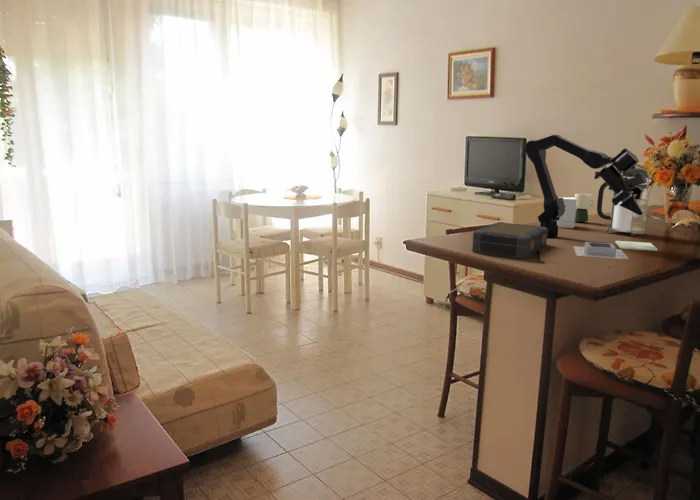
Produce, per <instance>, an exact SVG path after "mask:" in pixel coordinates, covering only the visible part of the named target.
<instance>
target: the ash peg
mask: <svg viewBox="0 0 700 500" xmlns="http://www.w3.org/2000/svg"><path fill="white" fill-rule="evenodd" d="M635 201H636V203H637V204H638V206H639V208H640V209H641V211H642V213H643V214H642V215H638V214H636V213H634V212H633V216H632V224H631V233H635V235H636V234H637V235H638V234H639V235H644V234H645V228H646V222H647V221H646V219H647V212H648V207H649V206H648V205H649V199H646V198H645V199H635Z"/></svg>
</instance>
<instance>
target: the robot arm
mask: <svg viewBox="0 0 700 500" xmlns="http://www.w3.org/2000/svg"><path fill="white" fill-rule="evenodd" d="M553 147H556V148H559V150H560V149H561V150H562V151H564V152H566V153H568V154H570V155H572V156H574V157H576V158H578V159H580V160H581V161H582V163H584V164H586V165H587V166H588V167H589V168H591V169H594V170H597V169H601V170H599V171H595V172H594V180H598V179H600V178H601V179H602V180H603V181H604V183H605V182H606V183H607V185H608V186H607V187H608V190H609V191H612V192H613V194H614V193H615V194H616V195H615V196H614V197H613V196H612V197H611V203H613V204H614V205H615V206H616V205H618V204H619V202H622V204H620V205H619V206H622V207H624V208H626V209H628V210H630V211H632V212H634V213H636V214H638V215H642V214H643V213H642V211H641V209H640V208H639V206H638V204H637V203H636V201H635V199H641V196H642V192H644V190H643V189H642V187H635V186H636V185H639V184H644V183H647V184H648V182H647V180H646V178H647V177H646V176H645V175H644V174H643V175H642V174H641V173H639V174H636V175H635V177H633V178H630V179H628V178H627V177H623V176H622V175H621V174H620V173H619V172H618V171H620V172H622V171H624V172H626V171H628V170H629V169H630V168H632V167H633V166H634V165H635V164H636V165H637V164H638V163H639V162H640V160H639V158H638V156H636V154H634V153H633V152H632V151H630V150H629V149H628V148H623V149H622V150H621V151H620V152H619V153H618V154H617V155H615V156H614V157H613V156H608V154H606V153H604V152H601V151H597V150H593V149H588V148H586V147H583V146H581V145H579V144H577V143H575V142H574V141H570V140H569V139H566V138H565V137H562V136H561V135H559V134H551V135H549V136H546V137H543V138H540V139H537V140H536V139H535V140H529V141H528V142H526V143H525V145H524V151H525V154H526V156H527V158H528V159H529V160H530V162H531V163H532V164H533V167H534V170H535V173H536V176H537V179H538V182H539V186H540V188H541V189H540V190H541V192H542V195H543V212H541V214H539V215H538V216H537V220H538V222H540V223H539V227H546V228H547V229H548V232H547V239H548V238H549V239H551V238H552V239H557V236H558V235H559V227H558V225H557V221H559V219H560V217H561V216H562V215H563V214H564V212H565V207H566V206H565V205H564V201H563V198H558V197H559V196H558V195H557V194H556V193H557V192H556V189H555V188H554V183H553V182H552V178H551V174H550V171H549V167H548V165H547V162H546V157H547V150H548V149H549V150H550V148H553ZM607 165H609V166H607ZM636 165H635V166H636Z"/></svg>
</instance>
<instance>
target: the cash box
mask: <svg viewBox="0 0 700 500" xmlns="http://www.w3.org/2000/svg"><path fill="white" fill-rule="evenodd" d="M547 232H548V229H547V228H546V227H540V225H538V226H536V225H528V224H521V223H520V224H518V223H509V222H501V221H500V222H499V221H498V222H495V223H492V224H490V225H486V226H484V227H482V228H479V229H477V230H474V231H473V233H472V244H471V245H472V248H471V251H472V252H473V253H477V254H485V255H492V256H499V257H506V258H513V259H514V258H515V259H520V260H526V259H529V258H530V257H532V256H534V255H536V254H537V253H539V252H540V250H541V249H543V248H544V247H546V246H547V242H548V237H547Z"/></svg>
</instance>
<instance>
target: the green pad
mask: <svg viewBox="0 0 700 500" xmlns="http://www.w3.org/2000/svg"><path fill="white" fill-rule="evenodd" d="M615 244H616V245H617V246H618V248H619V249H621V250H622V249H624V250H625V249H626V250H638V251H653V252H654V251H656V252H658V248H657V247H656V246H655V245H653V243H652V242H642V241H629V240H627V241H626V240H624V241H623V240H615Z"/></svg>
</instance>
